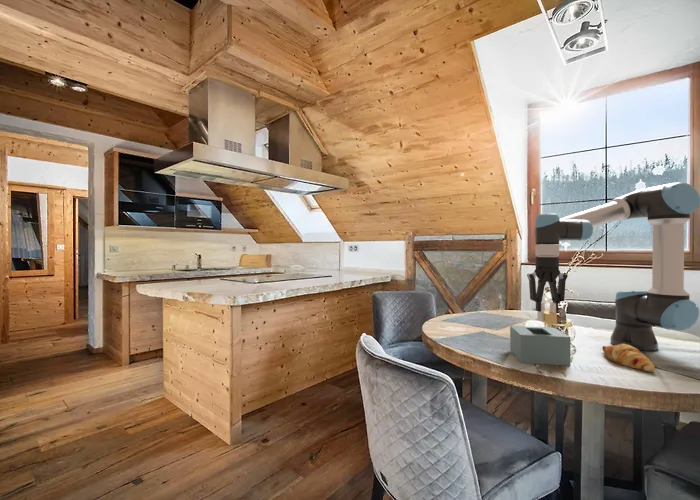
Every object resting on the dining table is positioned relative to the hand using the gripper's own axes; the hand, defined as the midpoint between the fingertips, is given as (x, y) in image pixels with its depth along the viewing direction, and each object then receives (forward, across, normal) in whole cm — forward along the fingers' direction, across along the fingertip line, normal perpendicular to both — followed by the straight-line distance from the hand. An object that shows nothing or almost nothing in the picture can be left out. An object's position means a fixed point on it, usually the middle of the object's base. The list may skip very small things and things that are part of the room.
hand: (546, 320), depth 123 cm
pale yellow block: (+1, 0, 0) cm, 1 cm away
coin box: (+15, +2, -2) cm, 15 cm away
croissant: (+15, -26, +2) cm, 30 cm away
